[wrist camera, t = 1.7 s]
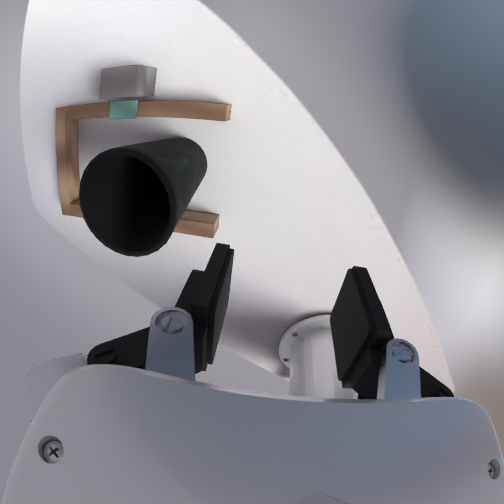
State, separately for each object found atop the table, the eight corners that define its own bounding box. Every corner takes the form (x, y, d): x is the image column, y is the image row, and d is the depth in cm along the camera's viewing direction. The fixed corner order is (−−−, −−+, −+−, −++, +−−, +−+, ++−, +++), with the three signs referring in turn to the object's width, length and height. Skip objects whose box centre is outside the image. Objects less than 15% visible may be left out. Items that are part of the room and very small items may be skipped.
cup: (143, 189, 29) (79, 240, 18) (153, 121, 25) (80, 140, 15) (208, 207, 29) (168, 270, 19) (225, 136, 25) (186, 162, 15)
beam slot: (217, 228, 30) (209, 246, 27) (73, 207, 31) (55, 220, 27) (236, 70, 22) (228, 64, 18) (71, 78, 22) (49, 79, 19)
